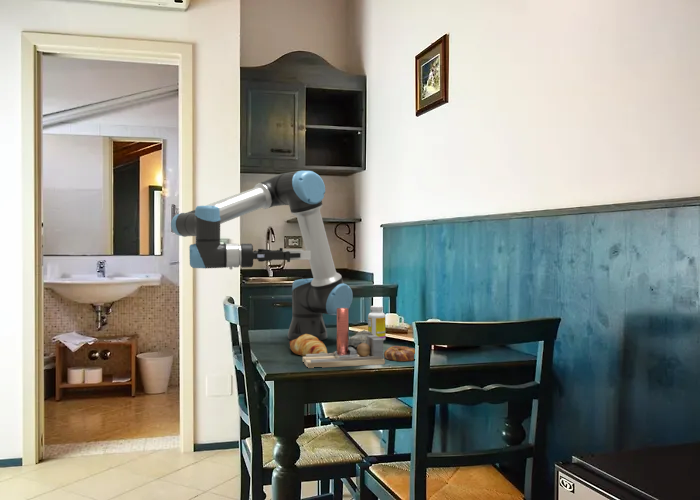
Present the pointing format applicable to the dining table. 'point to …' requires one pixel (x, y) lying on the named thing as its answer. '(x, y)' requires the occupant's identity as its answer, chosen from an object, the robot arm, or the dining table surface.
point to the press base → (366, 356)
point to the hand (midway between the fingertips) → (306, 254)
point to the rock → (359, 338)
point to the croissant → (307, 345)
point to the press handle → (343, 336)
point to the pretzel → (399, 353)
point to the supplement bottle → (377, 322)
